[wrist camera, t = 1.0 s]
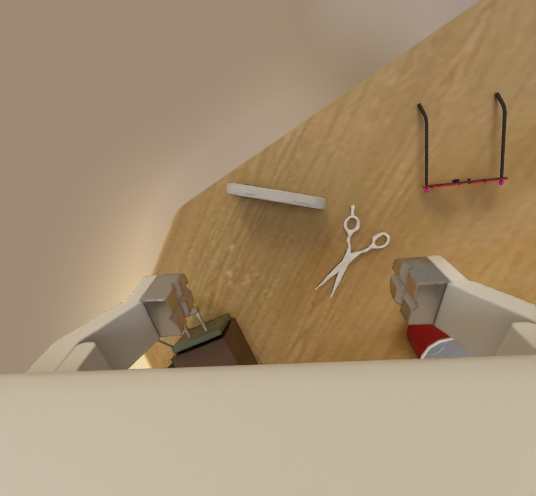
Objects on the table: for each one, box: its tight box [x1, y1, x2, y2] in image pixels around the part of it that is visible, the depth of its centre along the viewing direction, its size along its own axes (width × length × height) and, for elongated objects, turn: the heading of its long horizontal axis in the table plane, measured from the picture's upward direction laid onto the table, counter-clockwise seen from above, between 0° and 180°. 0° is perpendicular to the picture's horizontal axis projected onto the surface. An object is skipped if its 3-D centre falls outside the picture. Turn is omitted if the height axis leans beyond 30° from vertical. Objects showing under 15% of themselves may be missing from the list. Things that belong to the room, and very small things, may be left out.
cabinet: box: [171, 318, 258, 368], centre depth 55 cm, size 15×13×9 cm
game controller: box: [226, 183, 327, 210], centre depth 48 cm, size 20×2×8 cm, turn 81°
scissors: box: [314, 205, 390, 299], centre depth 52 cm, size 11×1×20 cm
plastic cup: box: [407, 324, 478, 359], centre depth 48 cm, size 11×11×12 cm
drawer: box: [172, 307, 230, 354], centre depth 54 cm, size 19×11×7 cm, turn 25°
